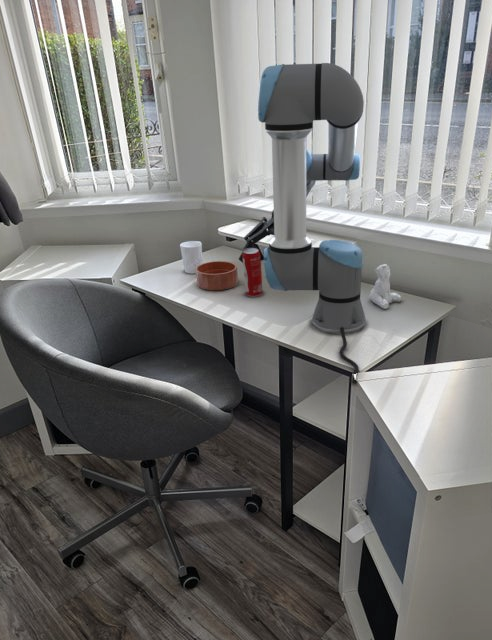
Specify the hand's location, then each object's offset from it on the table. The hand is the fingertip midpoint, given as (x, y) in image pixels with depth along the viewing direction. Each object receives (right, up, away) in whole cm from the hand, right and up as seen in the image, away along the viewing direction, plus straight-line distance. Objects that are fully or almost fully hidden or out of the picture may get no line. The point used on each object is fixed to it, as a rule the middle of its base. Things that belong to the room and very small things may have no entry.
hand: (255, 265), depth 175 cm
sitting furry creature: (+40, -13, -5) cm, 42 cm away
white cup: (-24, +5, +27) cm, 36 cm away
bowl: (-13, -3, +14) cm, 19 cm away
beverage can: (-1, -9, +4) cm, 10 cm away
